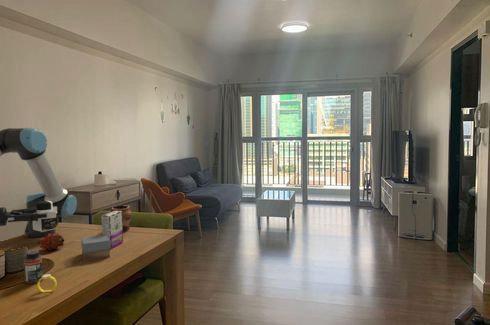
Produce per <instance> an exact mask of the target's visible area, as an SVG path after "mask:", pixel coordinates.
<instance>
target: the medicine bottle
mask: <svg viewBox="0 0 490 325" xmlns="http://www.w3.org/2000/svg"><path fill="white" fill-rule="evenodd" d="M36 209H37V213H38V212H50V211H52V210H53V205H52V202H51V201H40V202H38V203H36ZM58 217H59V216H58V215H57V212H56V218H47V219H38V221H36V222H35V221H33V230H36V231H40V232H44V231H48V230H53V229H56V230H57V229H59V221H58V219H59V218H58Z"/></svg>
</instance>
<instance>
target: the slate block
mask: <svg viewBox="0 0 490 325" xmlns="http://www.w3.org/2000/svg"><path fill="white" fill-rule="evenodd" d="M82 249H83V253H86V252H93V251H100V250H107V249H110V240H109V238H108V236H107V234H106V235H102V234H100V235H92V236H84V237H81V250H82ZM110 250H111V249H110Z"/></svg>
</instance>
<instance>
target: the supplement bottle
mask: <svg viewBox="0 0 490 325" xmlns="http://www.w3.org/2000/svg"><path fill="white" fill-rule="evenodd" d="M39 252H40V251H38V250H30V251H27V252H26V253H25V254H26V258H24V260H23V267H24V268H23V269H24V280H25V282H24V283H25V284H27V285H34V284H37V283H38V281H39V280H40V279H41V278H42V276H43V275H44V273H43V272H44V271H43V258H42V256H40V253H39ZM43 280H44V279H42V280H41V281H40V282H42V281H43Z"/></svg>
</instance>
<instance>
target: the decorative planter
mask: <svg viewBox="0 0 490 325" xmlns="http://www.w3.org/2000/svg"><path fill="white" fill-rule="evenodd" d="M112 211H122V228H123V232H125V231H128V230H130V228H131V227H130V222H131V220H132V212H131V209H130V205H125V204H122V205H115V206H112V207H111V209H110V212H112ZM110 212H109V213H110Z"/></svg>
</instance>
